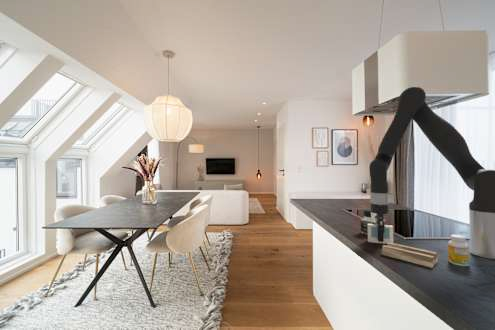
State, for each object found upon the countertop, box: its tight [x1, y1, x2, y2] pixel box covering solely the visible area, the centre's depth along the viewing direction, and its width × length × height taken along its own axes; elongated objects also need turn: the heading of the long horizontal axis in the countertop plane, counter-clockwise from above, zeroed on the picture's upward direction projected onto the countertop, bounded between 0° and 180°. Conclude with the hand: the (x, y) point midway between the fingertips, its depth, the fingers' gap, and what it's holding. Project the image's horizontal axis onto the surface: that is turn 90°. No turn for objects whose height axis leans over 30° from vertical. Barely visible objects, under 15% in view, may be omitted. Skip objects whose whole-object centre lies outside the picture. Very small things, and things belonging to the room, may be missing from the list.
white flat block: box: [367, 224, 394, 245], centre depth 106 cm, size 2×10×8 cm, turn 65°
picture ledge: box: [381, 242, 439, 269], centre depth 88 cm, size 8×16×3 cm, turn 40°
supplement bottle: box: [447, 234, 470, 267], centre depth 83 cm, size 5×5×10 cm
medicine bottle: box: [360, 209, 376, 235], centre depth 120 cm, size 7×7×12 cm
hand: (380, 239), depth 106 cm, fingers open, 3 cm apart
